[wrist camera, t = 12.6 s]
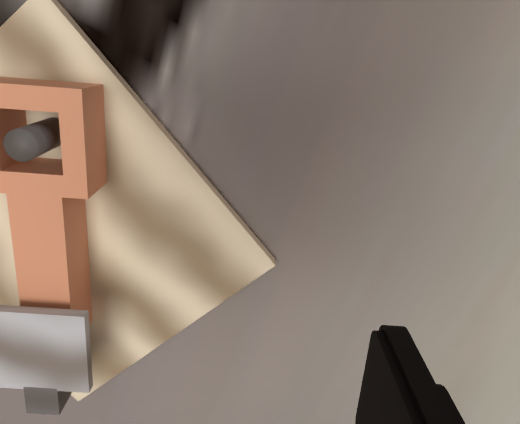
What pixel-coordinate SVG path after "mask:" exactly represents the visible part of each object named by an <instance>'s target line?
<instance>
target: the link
mask: <svg viewBox="0 0 520 424" xmlns="http://www.w3.org/2000/svg"><path fill="white" fill-rule="evenodd" d="M25 110H31V111H44V112H58V114H59V127H60V140H61V153H62V159H51V158H38V157H36V158H34V159H31V160H29V161H26V162H20V161H16V160H14V159H13V158H11V157H10V156H9V155H8V154H7V152H6V151H5V148H4V144H3V141H4V137H5V135H6V134H7V133H8V132H9V131H11V130H14V129H17V128H20V127H23V126H26V125H27V121H26V111H25ZM106 183H107V161H106V138H105V114H104V91H103V84H93V83H80V82H67V81H54V80H41V79H27V78H14V77H1V76H0V193H5V194H6V196H7V204H8V212H9V221H10V229H11V237H12V245H13V253H14V261H15V269H16V278H17V286H18V294H19V302H20V306H26V307H42V308H57V309H73V310H88V311H89V325H90V324H91V322H92V320H93V317H92V301H91V284H90V268H89V251H88V235H87V218H86V202H85V199H89V198H90V197H91V196H92V195H93V194H95V193H96V192H97V191H98V190H99V189H100V188H101V187H103V186H104V185H105V184H106Z"/></svg>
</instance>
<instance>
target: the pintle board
mask: <svg viewBox="0 0 520 424" xmlns="http://www.w3.org/2000/svg"><path fill="white" fill-rule="evenodd" d="M0 76H1V77H14V78H27V79H41V80H54V81H67V82H80V83H93V84H103V91H104V114H105V138H106V161H107V183H106V184H105V185H104V186H103V187H101V188H100V189H99V190H98V191H97V192H96V193H95V194H93V195H92V196H91V197H90V198H89V199H85V202H86V218H87V235H88V251H89V268H90V284H91V301H92V317H93V320H92V322H91V324H90V325H89V311H88V310H73V309H57V308H42V307H26V306H20V302H19V294H18V286H17V278H16V269H15V261H14V253H13V245H12V237H11V229H10V221H9V212H8V204H7V196H6V194H5V193H0V388H16V389H24V395H25V403H26V411H27V413H36V414H53V415H60V413H61V411H62V410H63V408H64V406H65V404H66V402H67V400H68V399H69V397H70V395H72V396H73V397H74V398H75V399H76V400H77V401H80V400H81V399H83V398H84V397H86V396H87V395H89V394H90V393H91V392H93V391H94V390H96V389H97V388H99V387H100V386H102V385H103V384H104V383H106V382H107V381H109V380H110V379H112V378H113V377H115V376H116V375H118V374H119V373H120V372H122V371H123V370H125V369H126V368H128V367H129V366H131V365H132V364H133V363H135V362H136V361H138V360H139V359H141V358H142V357H144V356H145V355H146V354H148V353H149V352H151V351H152V350H154V349H155V348H157V347H158V346H160V345H161V344H162V343H164V342H165V341H167V340H168V339H170V338H171V337H173V336H174V335H175V334H177V333H178V332H180V331H181V330H183V329H184V328H186V327H187V326H189V325H190V324H191V323H193V322H194V321H196V320H197V319H199V318H200V317H202V316H203V315H204V314H206V313H207V312H209V311H210V310H212V309H213V308H215V307H216V306H218V305H219V304H220V303H222V302H223V301H225V300H226V299H228V298H229V297H231V296H232V295H233V294H235V293H236V292H238V291H239V290H241V289H242V288H244V287H245V286H246V285H248V284H249V283H251V282H252V281H254V280H255V279H257V278H258V277H260V276H261V275H262V274H264V273H265V272H267V271H268V270H270V269H271V268H273V267H274V266H275V258H274V257H273V256H272V255H271V253H270V252H269V251H268V250H267V249H266V247H265V246H264V245H263V244H262V243H261V241H260V240H259V239H258V238H257V237H256V236H255V234H254V233H253V232H252V231H251V230H250V228H249V227H248V226H247V225H246V224H245V222H244V221H243V220H242V219H241V218H240V217H239V215H238V214H237V213H236V212H235V211H234V209H233V208H232V207H231V206H230V205H229V203H228V202H227V201H226V200H225V199H224V198H223V196H222V195H221V194H220V193H219V192H218V190H217V189H216V188H215V187H214V186H213V184H212V183H211V182H210V181H209V180H208V179H207V177H206V176H205V175H204V174H203V173H202V171H201V170H200V169H199V168H198V167H197V165H196V164H195V163H194V162H193V161H192V160H191V158H190V157H189V156H188V155H187V154H186V152H185V151H184V150H183V149H182V148H181V146H180V145H179V144H178V143H177V142H176V141H175V139H174V138H173V137H172V136H171V135H170V133H169V132H168V131H167V130H166V129H165V127H164V126H163V125H162V124H161V123H160V122H159V120H158V119H157V118H156V117H155V116H154V114H153V113H152V112H151V111H150V110H149V108H148V107H147V106H146V105H145V104H144V103H143V101H142V100H141V99H140V98H139V97H138V95H137V94H136V93H135V92H134V91H133V89H132V88H131V87H130V86H129V85H128V84H127V82H126V81H125V80H124V79H123V78H122V76H121V75H120V74H119V73H118V72H117V70H116V69H115V68H114V67H113V66H112V65H111V63H110V62H109V61H108V60H107V59H106V57H105V56H104V55H103V54H102V53H101V51H100V50H99V49H98V48H97V47H96V46H95V44H94V43H93V42H92V41H91V40H90V38H89V37H88V36H87V35H86V34H85V32H84V31H83V30H82V29H81V28H80V27H79V25H78V24H77V23H76V22H75V21H74V19H73V18H72V17H71V16H70V15H69V13H68V12H67V11H66V10H65V9H64V8H63V6H62V5H61V4H60V3H59V2H58V0H27V1H26V2H25V3H24V4H23V5H22V6H21V7H20V8H19V9H18V10H17V11H16V12H15V13H14V14H13V15H12V16H11V17H10V18H9V19H8V20H7V21H6V22H5V23H4V24H3V25H2V26H1V27H0ZM25 111H26V121H27V125H26V126H23V127H20V128H17V129H14V130H11V131H9V132H8V133H7V134H6V135H5V137H4V141H3V144H4V148H5V151H6V152H7V154H8V155H9V156H10V157H11V158H13V159H14V160H16V161H20V162H26V161H29V160H31V159H34V158H36V157H38V158H51V159H62V153H61V140H60V127H59V114H58V112H44V111H31V110H25Z"/></svg>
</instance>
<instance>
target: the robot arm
mask: <svg viewBox="0 0 520 424" xmlns="http://www.w3.org/2000/svg"><path fill="white" fill-rule="evenodd" d="M356 424H465V422H464V421H463V419H462V417H461V415H460V413H459V411H458V410H457V408H456V406H455V404H454V402H453V400H452V399H451V397H450V395H449V393H448V391H447V390H446V389H445V387H444V386H442V385H440V384H436V383H435V381H434V379H433V378H432V376H431V374H430V372H429V370H428V368H427V366H426V364H425V362H424V360H423V358H422V356H421V355H420V353H419V351H418V349H417V347H416V345H415V343H414V341H413V339H412V337H411V335H410V333H409V332H408V330H407V328H406V327H404V326H389V325H382V326H380V328H379V331H373V332H372V334H371V338H370V344H369V349H368V354H367V360H366V365H365V370H364V376H363V381H362V386H361V392H360V397H359V402H358V408H357V413H356Z"/></svg>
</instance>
